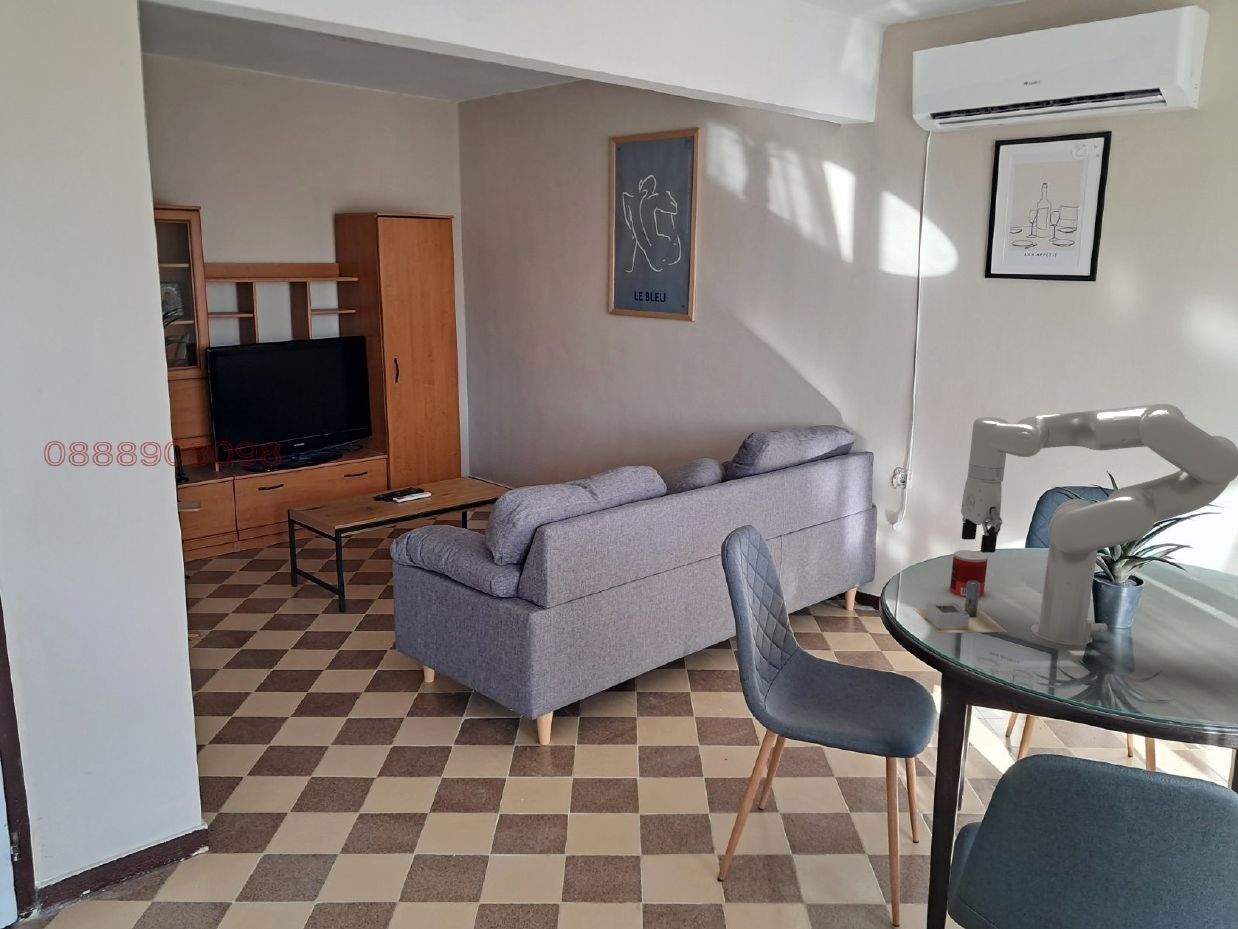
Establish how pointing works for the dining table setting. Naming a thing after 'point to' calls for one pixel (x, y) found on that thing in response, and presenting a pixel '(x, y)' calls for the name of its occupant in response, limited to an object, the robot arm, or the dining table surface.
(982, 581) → the canned food
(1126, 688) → the dining table surface
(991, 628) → the board
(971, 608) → the pin
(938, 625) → the collar
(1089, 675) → the dining table surface
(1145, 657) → the dining table surface
